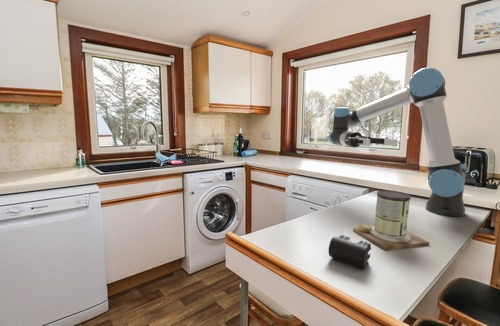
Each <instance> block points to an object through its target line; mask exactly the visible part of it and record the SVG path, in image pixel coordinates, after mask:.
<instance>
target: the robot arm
mask: <svg viewBox="0 0 500 326" xmlns="http://www.w3.org/2000/svg"><path fill="white" fill-rule="evenodd" d="M446 99H447V92H446V79H445V78H444V76H443V73H442V72H441V71H440V70H438V69H436V68H432V67H424V68H420V69H419V70H417V71H416V72H414V73H413V74H412V75H411V76H410V79H409V82H408V85H407V86H406V87H405V88H403V89H400V90H398V91H396V92H394V93H392V94H389V95H386V96H384V97H382V98H379V99H376V100H374V101H372V102H370V103H367V104H365V105H363V106H360V107H358V108H356V109H354V110H351V109H350V108H349V107H347V106H346V107H344V106H343V107H342V106H341V107H339V106H337V107H335V108H334V111H333V125H332V126H333V127H332V131H329V134H328V140H329V143H331V144H333V145H336V146H343V147H345V148H349V147H350V148H358V147H360V146H366V147H370V146H371V144H372V145H373V144H375V145H376V144H378V145H384V146H393V147H397V146H398V139H395V138H388V136H385V138H382V137H381V138H380V137H371V136H366V135H362V133H360V132H359V131H352V130H349V127H354V126H357V125H358V124H359V123H362V122H365V121H367V120H369V119H373V118H375V117H377V116H380V115H383V114H385V113H389V112H391V111H393V110H396V109H398V108H401V107H404V106H407V105H410V104H414V106H416V107H418V108H419V112H420V118H421V122H422V126H423V127H422V128H423V132H424V137H425V142H426V146H427V151H428V156H429V162H428V163H427V165H426V169H427V173H428V174H427V175H428V187H429V188H430V190H431V194H430V195H429V198H428V200H427V202H426V203H425V209H426V210H427V211H429V212H431V213H434V214H437V215H441V216H449V217H464V216H465V215H466V208H465V203H464V199H463V198H464V197H463V195H464V190H465V183H466V182H465V181H466V177H467V172H468V168H467V165H466V164H465V163H461V161H460V160H458V159H456V158H455V153H454V148H453V142H452V139H451V133H450V128H449V123H448V119H447V114H446V110H445V104H444V102H445V100H446ZM350 110H351V111H350Z"/></svg>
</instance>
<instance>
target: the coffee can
mask: <svg viewBox="0 0 500 326" xmlns="http://www.w3.org/2000/svg"><path fill="white" fill-rule="evenodd" d="M376 194H377V195H376V204H375V205H376V206H375V207H376V208H375V215H374V216H375V218H374V225H373V226H374V231H375V232H376V233H377V234H379V235H382V236H385V237H389V238H404V237H406V231H407V227H408V220H409V219H408V218H409V212H410V211H409V210H410V201H411V197H412V196H411V195H410V194H408V193H406V192H401V191H397V190H389V189H388V190H384V189H383V190H379V191H377V192H376Z"/></svg>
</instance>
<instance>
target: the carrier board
mask: <svg viewBox="0 0 500 326" xmlns="http://www.w3.org/2000/svg"><path fill="white" fill-rule="evenodd" d="M374 226H375V225H373V226H370V225H368V224H358V225H357V227H354V228H352V229H353V230H352V231H353V232H354V233H356V234H358V235H359V236H361V237H362V238H364V239H365V240H367V241H368V242H369V243H372V244H373V245H375V246H377V247H378V248H380V249H381V250H383V251H390V250H399V249H406V248H407V249H408V248H413V247H414V248H416V247H422V246H423V247H424V246H429V245H430V241H428V240H427V239H424V238H422V237H420V236H418V235H416V234H413V233H412V232H409V231H408V230H406V237H404V238H389V237H385V236H382V235H379V234H377V233H376V232H375V231H374Z"/></svg>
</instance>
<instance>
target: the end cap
mask: <svg viewBox="0 0 500 326" xmlns="http://www.w3.org/2000/svg"><path fill="white" fill-rule="evenodd" d="M350 240H351V238H350V236H346V235H343V234H342V235H341V234H340V235H339V236H338V237H337V236H332V238H331V239H330V241H329V246H328V255H329V257H331V258H332V259H333V260H336V261H339V262H342V263H345V264H347V265H350V266H352V267H356V268H359V269H361V270H365V269H366V268H367V267H368V266H369V264H370V263H369V262H370V261H369V260H370V257H371V253H369V252H370V251H371V250H372V247H371V246H372V245H371V242H367V241H363V240H358V242H354V241H350Z"/></svg>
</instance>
